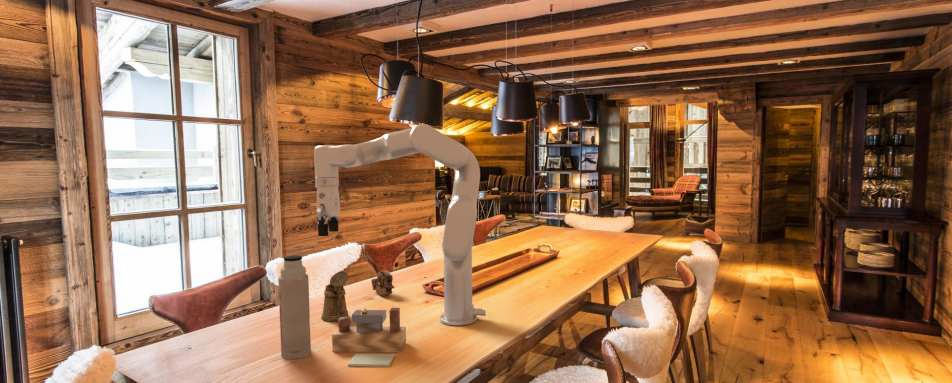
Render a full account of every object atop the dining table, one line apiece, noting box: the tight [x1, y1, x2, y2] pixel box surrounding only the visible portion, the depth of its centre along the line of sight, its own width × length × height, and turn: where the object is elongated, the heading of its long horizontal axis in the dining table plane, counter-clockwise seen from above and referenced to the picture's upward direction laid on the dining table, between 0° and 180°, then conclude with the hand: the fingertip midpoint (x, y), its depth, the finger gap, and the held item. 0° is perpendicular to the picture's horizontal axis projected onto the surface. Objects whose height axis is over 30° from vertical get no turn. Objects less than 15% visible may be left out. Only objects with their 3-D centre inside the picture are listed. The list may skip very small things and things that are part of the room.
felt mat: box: [347, 353, 395, 368], centre depth 139 cm, size 11×7×1 cm, turn 87°
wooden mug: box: [321, 271, 349, 322], centre depth 174 cm, size 9×14×18 cm, turn 30°
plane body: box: [331, 307, 407, 353], centre depth 148 cm, size 20×7×11 cm, turn 87°
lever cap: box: [351, 308, 387, 324], centre depth 148 cm, size 9×5×3 cm, turn 87°
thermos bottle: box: [277, 254, 312, 360], centre depth 144 cm, size 8×8×28 cm
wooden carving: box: [370, 269, 395, 297], centre depth 204 cm, size 16×5×10 cm, turn 41°
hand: (328, 233), depth 170 cm, fingers open, 9 cm apart
